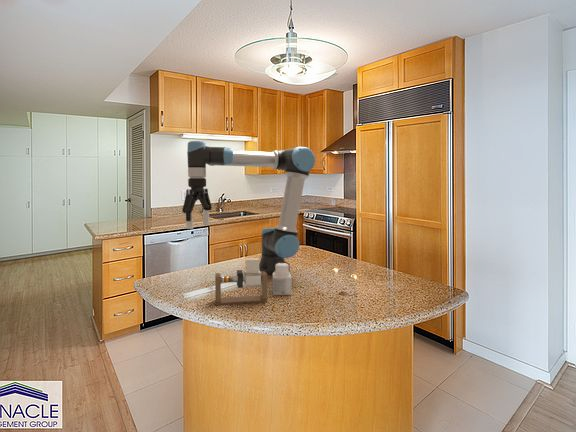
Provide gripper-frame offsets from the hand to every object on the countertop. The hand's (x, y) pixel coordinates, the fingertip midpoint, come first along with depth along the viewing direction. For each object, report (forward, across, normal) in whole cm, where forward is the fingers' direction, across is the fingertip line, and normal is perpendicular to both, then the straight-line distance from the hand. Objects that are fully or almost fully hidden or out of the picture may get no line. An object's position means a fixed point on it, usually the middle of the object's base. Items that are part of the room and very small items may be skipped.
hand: (198, 226), depth 151 cm
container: (+28, -5, +37) cm, 46 cm away
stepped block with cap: (+21, +8, +29) cm, 37 cm away
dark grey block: (+21, +11, +24) cm, 34 cm away
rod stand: (+27, +11, +25) cm, 38 cm away
